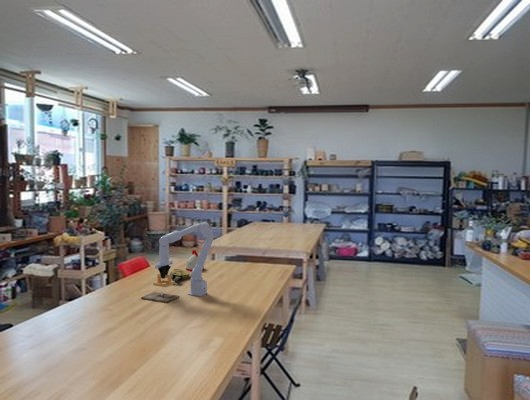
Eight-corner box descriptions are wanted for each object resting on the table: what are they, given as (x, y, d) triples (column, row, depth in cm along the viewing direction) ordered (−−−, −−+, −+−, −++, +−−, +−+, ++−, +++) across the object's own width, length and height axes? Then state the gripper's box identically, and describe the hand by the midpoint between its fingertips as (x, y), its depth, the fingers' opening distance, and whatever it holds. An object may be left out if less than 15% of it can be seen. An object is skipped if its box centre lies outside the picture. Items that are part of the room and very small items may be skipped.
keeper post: (163, 297, 236) (163, 291, 236) (162, 298, 234) (162, 292, 234) (161, 297, 236) (161, 291, 236) (159, 297, 235) (160, 292, 235)
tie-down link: (174, 283, 246) (174, 274, 246) (165, 287, 238) (165, 277, 237) (162, 281, 250) (162, 272, 249) (153, 285, 241) (153, 275, 241)
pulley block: (163, 275, 265) (173, 265, 295) (162, 283, 265) (172, 273, 295) (184, 279, 265) (192, 269, 295) (183, 287, 266) (191, 276, 296)
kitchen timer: (198, 266, 323) (198, 248, 322) (207, 269, 312) (207, 250, 311) (182, 268, 314) (182, 249, 313) (191, 272, 303) (191, 252, 303)
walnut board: (179, 297, 238) (179, 295, 238) (167, 303, 227) (167, 301, 227) (154, 293, 245) (154, 292, 245) (141, 298, 234) (141, 297, 234)
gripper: (166, 253, 251) (166, 274, 252) (150, 257, 238) (150, 280, 238) (175, 254, 248) (175, 276, 249) (160, 258, 235) (160, 281, 236)
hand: (164, 278), depth 243 cm, fingers closed on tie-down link
